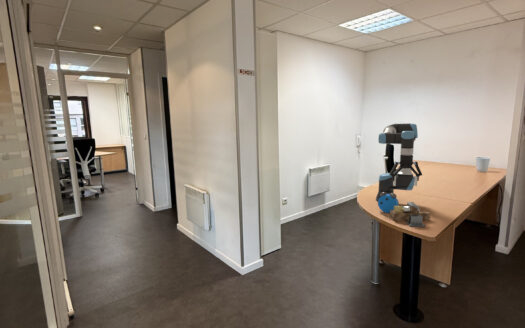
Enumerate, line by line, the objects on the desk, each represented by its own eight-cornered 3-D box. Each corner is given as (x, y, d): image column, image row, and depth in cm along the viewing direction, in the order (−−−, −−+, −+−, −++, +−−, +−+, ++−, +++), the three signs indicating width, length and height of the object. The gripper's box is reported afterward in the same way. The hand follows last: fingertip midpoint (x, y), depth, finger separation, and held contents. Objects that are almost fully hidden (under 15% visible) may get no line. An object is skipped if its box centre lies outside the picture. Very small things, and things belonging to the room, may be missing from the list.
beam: (393, 220, 192) (394, 205, 190) (389, 216, 199) (390, 201, 198) (431, 221, 188) (432, 206, 186) (426, 217, 196) (427, 202, 194)
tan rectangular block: (395, 212, 193) (395, 207, 192) (393, 210, 196) (393, 205, 196) (402, 212, 192) (403, 207, 191) (401, 211, 195) (401, 205, 195)
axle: (403, 213, 192) (404, 207, 191) (401, 210, 196) (402, 205, 195) (419, 213, 190) (419, 208, 189) (417, 211, 194) (417, 205, 193)
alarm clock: (398, 212, 207) (399, 193, 205) (395, 214, 203) (396, 194, 200) (379, 209, 216) (380, 190, 213) (377, 211, 211) (378, 192, 209)
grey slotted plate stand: (405, 222, 189) (406, 213, 188) (420, 222, 187) (420, 213, 186) (410, 226, 181) (410, 217, 180) (425, 227, 179) (425, 218, 178)
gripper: (388, 155, 182) (387, 187, 186) (429, 155, 179) (427, 187, 183) (385, 153, 190) (383, 184, 193) (424, 153, 187) (421, 184, 190)
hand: (404, 185), depth 188 cm, fingers open, 13 cm apart
